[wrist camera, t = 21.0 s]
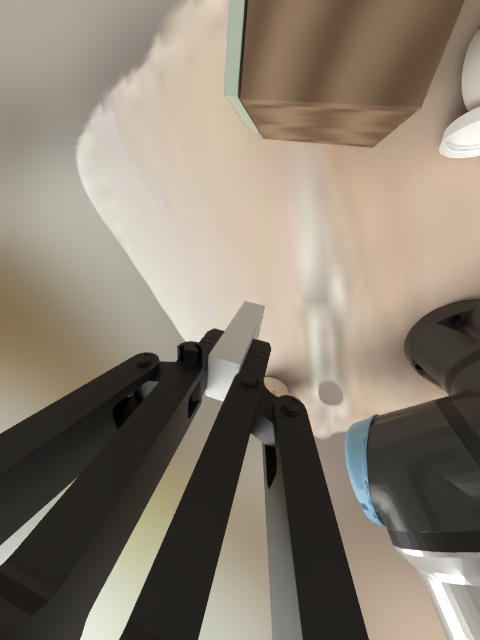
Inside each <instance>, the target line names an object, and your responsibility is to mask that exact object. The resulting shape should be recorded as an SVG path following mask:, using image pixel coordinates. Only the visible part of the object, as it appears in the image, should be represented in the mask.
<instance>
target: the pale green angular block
mask: <svg viewBox="0 0 480 640" xmlns="http://www.w3.org/2000/svg"><path fill="white" fill-rule="evenodd" d="M247 8H248V0H229V13H228V32H227V51H226V70H225V89H224V96H225V98H226V99H227V100H228V102H229V103H230V105H231V106H232V107H233V109H234V110H235V112H236V113H237V114H238V116H239V117H240V118H241V120H242V121H243V123H244V124H245V125H246V127H247V128H248V130H249V131H250V132H251V133H257V134H260V132H259V130H258V128H257V127H256V125H255V123H254V121H253V120H252V118H251V116H250V115H249V113H248V111H247V109H246V108H245V106H244V104H243V103H242V101H241V99H240V95H241V82H242V70H243V58H244V45H245V33H246V20H247Z"/></svg>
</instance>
